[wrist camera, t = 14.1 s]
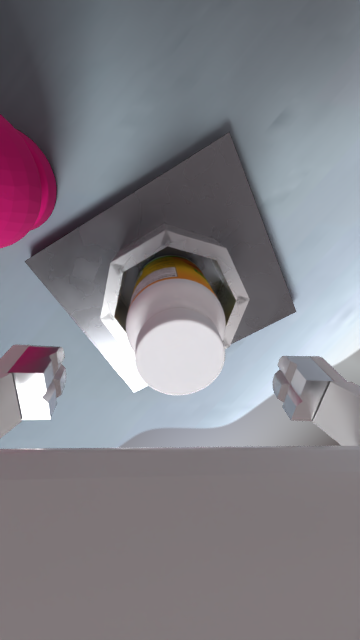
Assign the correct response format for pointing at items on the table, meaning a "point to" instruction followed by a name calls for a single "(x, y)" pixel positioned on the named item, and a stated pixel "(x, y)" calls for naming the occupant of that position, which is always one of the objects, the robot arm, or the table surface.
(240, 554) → the robot arm
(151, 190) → the collar
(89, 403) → the table surface
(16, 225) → the pepper mill
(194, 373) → the supplement bottle
